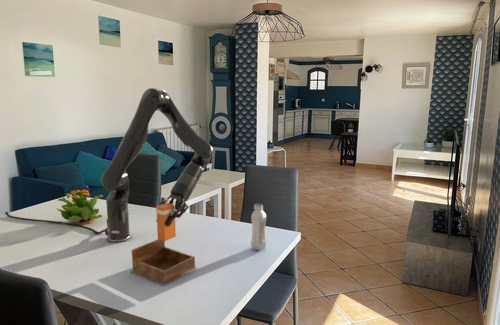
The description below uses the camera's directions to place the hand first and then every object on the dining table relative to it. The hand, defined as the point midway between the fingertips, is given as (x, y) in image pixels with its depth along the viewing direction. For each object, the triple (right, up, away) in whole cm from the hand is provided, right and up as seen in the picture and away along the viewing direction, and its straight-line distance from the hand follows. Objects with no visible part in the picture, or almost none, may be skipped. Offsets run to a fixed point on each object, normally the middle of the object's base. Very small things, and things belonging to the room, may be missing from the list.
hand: (162, 224), depth 142 cm
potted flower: (-55, -9, +57) cm, 80 cm away
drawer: (0, -18, +2) cm, 18 cm away
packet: (+1, -6, +3) cm, 6 cm away
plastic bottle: (+37, -15, +23) cm, 46 cm away
